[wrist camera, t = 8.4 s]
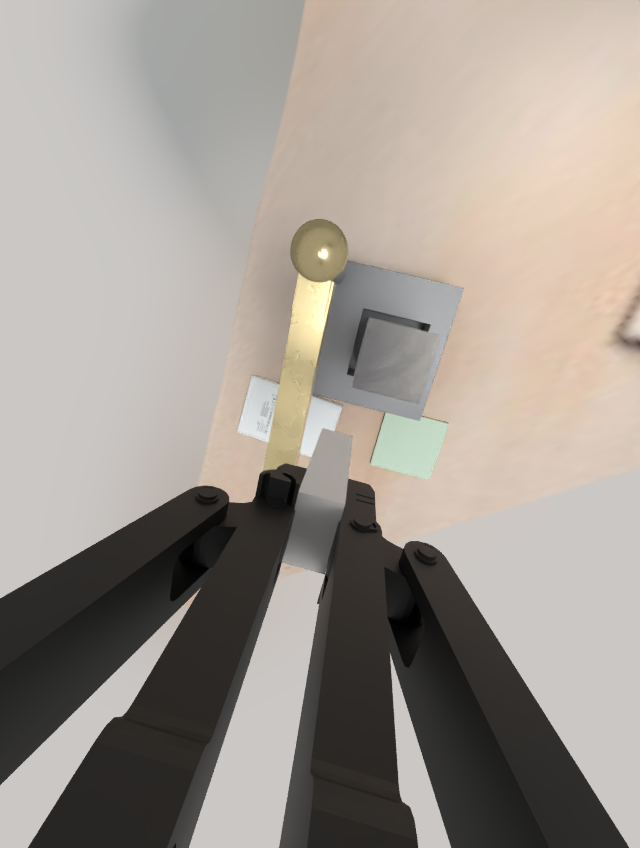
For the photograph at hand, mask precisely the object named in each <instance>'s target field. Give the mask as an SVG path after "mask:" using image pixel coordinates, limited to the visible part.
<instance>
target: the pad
mask: <svg viewBox="0 0 640 848" xmlns="http://www.w3.org/2000/svg"><path fill="white" fill-rule="evenodd" d="M448 425H449V423H447V422H443V421H439V420H435V419H431V418H427V417H423V416H421V419H420V421H417V420H413V419H410V418H406V417H402V416H398V415H394V414H390V413H386V412H385V415H384V418H383V422H382V425H381V428H380V432H379V435H378V439H377V442H376V445H375V449H374V452H373V455H372V459H371V462H370V465H374V466H378V467H382V468H385V469H389V470H393V471H397V472H401V473H405V474H408V475H412V476H416V477H420V478H424V479H428V480H429V478H430V476H431V473H432V470H433V467H434V464H435V462H436V459H437V456H438V453H439V451H440V448H441V445H442V442H443V439H444V437H445V434H446V431H447V428H448Z"/></svg>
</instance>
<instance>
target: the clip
mask: <svg viewBox="0 0 640 848" xmlns="http://www.w3.org/2000/svg"><path fill="white" fill-rule="evenodd" d="M291 259H292V262H293V265H294V267H295V269H296V270H297V272H298V279H297V284H296V290H295V295H294V300H293V306H292V311H293V313H292V318H291V324H290V329H289V334H288V340H287V345H286V351H285V356H284V361H283V367H282V372H281V378H280V383H279V388H278V394H277V399H276V404H275V410H274V415H273V421H272V426H271V431H270V437H269V442H268V448H267V453H266V458H265V464H264V469H263V471H266V470H270V469H277V467H279V466H281V465H283V464H285V463H287V464H291V465H294V466H297V463H298V459H299V454H300V449H301V445H302V440H303V435H304V431H305V426H306V422H307V417H308V412H309V408H310V403H311V399H312V394H313V389H314V385H315V380H316V375H317V371H318V366H319V362H320V357H321V352H322V348H323V343H324V338H325V334H326V329H327V325H328V320H329V315H330V311H331V306H332V301H333V297H334V292H335V288H336V284H335V283H334V282H332V280H334V279H336V278H337V277H338V276H339V275H340V274H341V273H342V272H343V270H344V268H345V266H346V264H347V260H348V246H347V242H346V238H345V236H344V234H343V232H342V231H341V229H340V228H339V227H338V226H337V225H335V224H334V223H332V222H330V221H328V220H324V219H315V220H311V221H309V222H306V223H305V224H303V225H302V226H301V227H300V228H299V229H298V230H297V232H296V233H295V235H294V237H293V240H292V243H291Z"/></svg>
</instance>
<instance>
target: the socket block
mask: <svg viewBox="0 0 640 848" xmlns="http://www.w3.org/2000/svg"><path fill="white" fill-rule="evenodd" d="M332 282H334V283H335V284H336V288H335V292H334V297H333V301H332V306H331V311H330V315H329V320H328V325H327V329H326V334H325V338H324V343H323V348H322V352H321V357H320V362H319V366H318V371H317V375H316V380H315V385H314V389H313V394H315V395H319V396H323V397H327V398H331V399H335V400H339V401H343V402H346V403H350V404H354V405H358V406H362V407H366V408H370V409H374V410H378V411H382V412H386V413H390V414H394V415H398V416H402V417H406V418H410V419H413V420H417V421H420V419H421V416H422V413H423V410H424V407H425V404H426V401H427V398H428V395H429V392H430V389H431V386H432V383H433V380H434V377H435V374H436V371H437V368H438V365H439V362H440V359H441V356H442V353H443V350H444V347H445V344H446V341H447V338H448V335H449V332H450V329H451V326H452V323H453V320H454V317H455V314H456V310H457V307H458V304H459V301H460V298H461V295H462V292H463V289H464V288H462V287H458V286H454V285H449V284H445V283H441V282H437V281H432V280H428V279H424V278H420V277H415V276H411V275H407V274H403V273H399V272H394V271H390V270H386V269H382V268H377V267H373V266H369V265H365V264H360V263H356V262H352V261H348V260H347V264H346V266H345V268H344V270H343V272H342V273H341V274H340V275H339V276H338V277H337V278H336V279H334V280H332ZM368 317H371V318H375V319H379V320H383V321H387V322H391V323H395V324H400V325H404V326H408V327H412V328H416V329H419V330H423V331H426V332H430V333H435V334H438V335H441V338H440V341H439V345H438V348H437V351H436V354H435V357H434V360H433V363H432V366H431V369H430V372H429V375H428V378H427V381H426V384H425V387H424V391H423V394H422V397H421V400H420V403H419V405H417V404H413V403H409V402H405V401H401V400H397V399H393V398H389V397H386V396H382V395H378V394H374V393H370V392H366V391H362V390H358V389H354V388H351V387H352V382H353V378H354V373H355V367H356V362H357V358H358V354H359V351H360V347H361V343H362V339H363V335H364V331H365V328H366V324H367V320H368Z"/></svg>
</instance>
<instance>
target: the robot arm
mask: <svg viewBox="0 0 640 848" xmlns="http://www.w3.org/2000/svg"><path fill="white" fill-rule="evenodd" d="M352 438H353V436H351V435H347V434H344V433H340V432H336V431H332V430H328V429H324V428H322V431H321V433H320V436H319V439H318V441H317V444H316V447H315V449H314V452H313V454H312V457H311V460H310V462H309V465H308V468H307V469H306V468H302V467H298V466H294V465H291V464H287V463H285V464H283V465H281V466H279V467H277V469H270V470H266V471H263V472H262V473H260V475H259V481H258V486H257V491H256V496H255V498H254V500H253V501H252V502H248V503H231V502H229V496H228V494H227V493H226V492H225V491H223V490H221V489H219V488H216V487H213V486H198V487H194V488H192V489H189V490H188V491H186V492H184V493H182V494H181V495H179V496H177V497H176V498H174V499H172V500H170V501H168V502H167V503H165V504H163V505H162V506H160V507H158V508H156V509H155V510H153V511H151V512H149V513H148V514H146V515H144V516H143V517H141V518H139V519H137V520H136V521H134V522H132V523H130V524H129V525H127V526H125V527H123V528H122V529H120V530H118V531H117V532H115V533H113V534H111V535H110V536H108V537H106V538H104V539H103V540H101V541H99V542H98V543H96V544H94V545H92V546H91V547H89V548H87V549H85V550H84V551H82V552H80V553H79V554H77V555H75V556H73V557H71V558H70V559H68V560H66V561H65V562H63V563H61V564H59V565H58V566H56V567H54V568H52V569H51V570H49V571H47V572H45V573H44V574H42V575H40V576H39V577H37V578H35V579H33V580H32V581H30V582H28V583H26V584H25V585H23V586H21V587H20V588H18V589H16V590H15V591H13V592H11V593H9V594H7V595H6V596H4V597H2V598H0V785H1V784H2V783H3V782H4V781H5V780H6V779H7V778H8V777H9V776H10V775H11V774H12V773H13V772H14V771H15V770H16V769H17V768H18V767H19V766H20V765H21V764H22V763H23V762H24V761H25V760H26V759H27V758H28V757H29V756H30V755H31V754H32V753H33V752H34V751H35V750H36V749H37V748H38V747H39V746H40V745H41V744H42V743H43V742H44V741H45V740H46V739H47V738H48V737H49V736H51V734H53V733H54V732H55V731H56V730H57V729H58V728H59V727H60V725H62V724H63V723H64V722H65V721H66V720H67V719H68V718H69V717H70V716H71V715H72V714H73V713H74V712H75V711H76V710H77V709H78V708H79V707H80V706H81V705H82V704H83V703H84V702H85V701H86V700H87V699H88V698H89V697H90V696H91V695H92V694H93V693H94V692H95V691H96V690H97V689H98V688H99V687H100V686H101V685H102V684H103V683H104V682H105V681H106V680H107V679H108V678H109V677H110V676H111V675H112V674H113V673H114V672H116V671H117V670H118V668H120V667H121V666H122V665H123V664H124V663H125V662H126V661H127V660H128V659H129V658H130V657H131V656H132V655H133V654H134V653H135V652H136V651H137V650H138V649H139V648H140V647H141V646H142V645H143V644H144V643H145V642H146V641H147V640H148V639H149V638H150V637H151V636H152V635H153V634H154V633H155V632H156V631H157V630H158V629H159V628H160V627H161V626H162V625H163V624H164V623H165V622H166V621H167V620H168V619H169V618H170V617H171V616H172V615H173V614H174V613H175V612H177V611H178V610H179V608H181V606H183V605H184V604H185V603H186V602H187V601H188V600H189V599H190V598H191V597H192V596H193V595H194V594H195V593H196V592H197V591H198V590H199V589H200V588H201V589H200V590H199V592H198V594H197V596H196V597H195V599H194V601H193V602H192V604H191V606H190V607H189V609H188V611H187V612H186V614H185V616H184V617H183V619H182V621H181V623H180V624H179V626H178V628H177V629H176V631H175V633H174V634H173V636H172V638H171V639H170V641H169V643H168V644H167V646H166V648H165V649H164V651H163V653H162V654H161V656H160V658H159V659H158V661H157V663H156V665H155V666H154V668H153V670H152V671H151V673H150V675H149V676H148V678H147V680H146V681H145V683H144V685H143V687H142V688H141V690H140V691H139V693H138V695H137V697H136V698H135V700H134V702H133V703H132V705H131V706H130V708H129V709H128V711H127V712H126V713H125V714H124V716H122V717H115V718H113V719H112V720H111V721H110V722H109V723H108V724H107V725H106V727H105V728H104V729H103V731H102V732H101V734H100V735H99V736H98V738H97V739H96V741H95V742H94V744H93V745H92V747H91V748H90V750H89V752H88V753H87V755H86V756H85V758H84V760H83V761H82V763H81V764H80V766H79V768H78V769H77V771H76V772H75V774H74V775H73V777H72V779H71V780H70V782H69V784H68V785H67V787H66V788H65V790H64V792H63V793H62V794H61V796H60V798H59V800H58V801H57V803H56V804H55V806H54V807H53V809H52V810H51V812H50V814H49V815H48V817H47V818H46V820H45V822H44V823H43V825H42V826H41V828H40V829H39V831H38V833H37V835H36V836H35V838H34V839H33V841H32V842H31V844H30V845H29V847H28V848H189V845H190V842H191V839H192V836H193V832H194V829H195V826H196V823H197V820H198V817H199V814H200V811H201V808H202V805H203V802H204V799H205V796H206V793H207V789H208V787H209V784H210V781H211V778H212V775H213V772H214V769H215V766H216V763H217V760H218V757H219V753H220V751H221V747H222V744H223V741H224V738H225V735H226V732H227V729H228V726H229V723H230V720H231V717H232V714H233V711H234V708H235V705H236V702H237V699H238V696H239V693H240V690H241V687H242V684H243V680H244V678H245V675H246V672H247V669H248V666H249V663H250V659H251V656H252V653H253V650H254V647H255V644H256V641H257V638H258V635H259V632H260V629H261V626H262V623H263V620H264V617H265V614H266V611H267V608H268V605H269V602H270V599H271V596H272V592H273V589H274V586H275V583H276V581H277V578H278V575H279V571H280V567H281V563H286V564H290V565H293V566H297V567H300V568H304V569H308V570H311V571H315V572H318V573H322V574H325V572H326V574H325V578H324V581H323V585H322V588H321V591H320V595H319V599H318V602H317V604H319V609H318V615H317V621H316V627H315V633H314V639H313V645H312V651H311V657H310V664H309V670H308V676H307V682H306V688H305V694H304V700H303V706H302V712H301V718H300V725H299V730H298V737H297V742H296V749H295V755H294V761H293V767H292V773H291V780H290V785H289V791H288V798H287V803H286V809H285V815H284V822H283V828H282V834H281V840H280V846H279V848H418V843H417V834H416V828H415V821H414V817H413V815H412V812H411V809H410V807H409V806H408V805H406V804H405V803H403V802H402V800H401V797H400V793H399V784H398V770H397V754H396V739H395V725H394V709H393V694H392V679H391V664H390V654H391V656H392V660H393V663H394V666H395V670H396V673H397V676H398V679H399V682H400V685H401V689H402V692H403V695H404V698H405V701H406V704H407V708H408V711H409V714H410V717H411V721H412V724H413V727H414V730H415V733H416V736H417V739H418V743H419V746H420V749H421V752H422V756H423V759H424V762H425V765H426V768H427V772H428V775H429V778H430V781H431V784H432V787H433V791H434V794H435V797H436V800H437V803H438V807H439V809H440V813H441V816H442V819H443V823H444V826H445V829H446V832H447V835H448V839H449V841H450V845H451V848H629V847H628V845H627V843H626V842H625V840H624V839H623V837H622V836H621V834H620V832H619V831H618V829H617V828H616V826H615V824H614V823H613V821H612V820H611V818H610V817H609V815H608V813H607V812H606V810H605V809H604V807H603V805H602V804H601V803H600V801H599V799H598V798H597V796H596V794H595V793H594V791H593V790H592V788H591V786H590V785H589V783H588V782H587V780H586V779H585V777H584V775H583V774H582V772H581V771H580V769H579V767H578V766H577V764H576V763H575V761H574V760H573V758H572V756H571V755H570V753H569V752H568V750H567V748H566V747H565V745H564V744H563V742H562V741H561V739H560V738H559V736H558V734H557V733H556V731H555V730H554V728H553V726H552V725H551V723H550V722H549V720H548V718H547V717H546V715H545V714H544V712H543V711H542V709H541V708H540V706H539V704H538V703H537V701H536V700H535V698H534V696H533V695H532V693H531V692H530V690H529V688H528V687H527V685H526V684H525V682H524V680H523V679H522V677H521V676H520V674H519V673H518V671H517V669H516V668H515V666H514V665H513V664H512V662H511V660H510V658H509V657H508V655H507V654H506V652H505V650H504V649H503V647H502V646H501V644H500V643H499V641H498V639H497V638H496V636H495V635H494V633H493V631H492V630H491V628H490V627H489V625H488V624H487V622H486V621H485V619H484V617H483V616H482V614H481V613H480V611H479V609H478V608H477V606H476V605H475V603H474V602H473V600H472V598H471V597H470V595H469V594H468V592H467V590H466V589H465V587H464V586H463V584H462V582H461V581H460V580H459V578H458V576H457V575H456V573H455V571H454V570H453V568H452V567H451V565H450V564H449V562H448V561H447V559H446V557H445V556H444V555H443V554H442V553H441V552H440V551H439V550H437V549H436V548H435V547H433V546H431V545H429V544H427V543H423V542H419V541H411V542H408V543H406V545H405V547H404V549H402V548H400V547H398V546H396V545H394V544H392V543H391V542H389V541H387V540H386V539H385V538H383V537H382V530H381V527H380V525H379V524H378V523H377V522H376V511H375V492H374V490H373V489H372V487H371V486H370V485H369V484H366V483H362V482H358V481H354V480H351V479H348V475H349V465H350V456H351V447H352ZM326 569H327V570H326Z"/></svg>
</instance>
